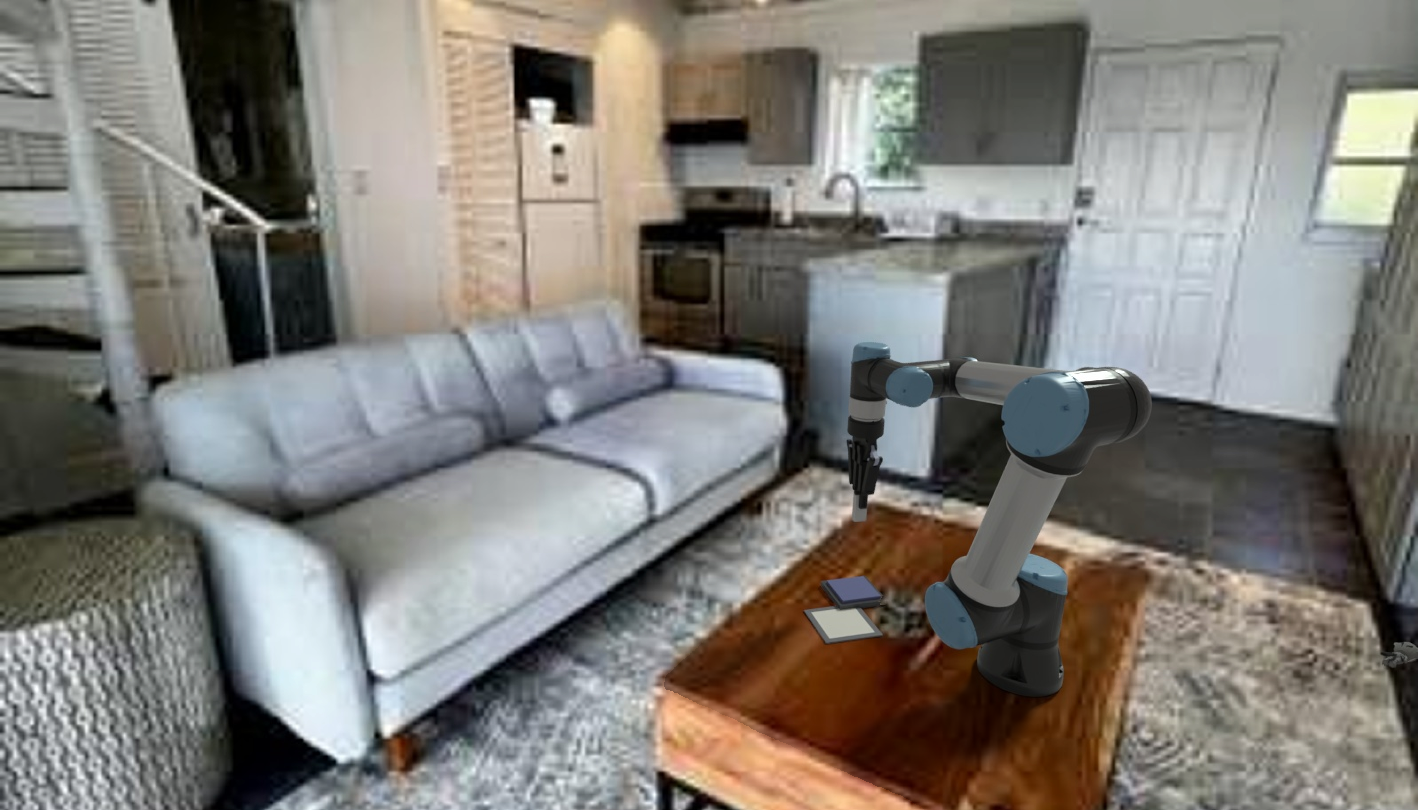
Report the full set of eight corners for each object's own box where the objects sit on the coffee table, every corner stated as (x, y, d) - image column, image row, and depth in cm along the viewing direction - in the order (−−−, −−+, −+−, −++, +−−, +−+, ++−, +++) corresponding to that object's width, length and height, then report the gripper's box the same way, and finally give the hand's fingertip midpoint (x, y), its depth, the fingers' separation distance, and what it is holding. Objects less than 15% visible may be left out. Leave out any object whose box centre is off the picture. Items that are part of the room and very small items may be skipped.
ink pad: (886, 604, 166) (887, 597, 165) (840, 611, 163) (840, 603, 163) (864, 580, 176) (865, 573, 176) (820, 585, 174) (821, 578, 173)
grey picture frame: (882, 635, 155) (882, 634, 154) (826, 644, 152) (826, 642, 151) (856, 604, 166) (856, 603, 166) (803, 611, 163) (803, 610, 163)
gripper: (897, 424, 153) (888, 531, 160) (869, 406, 165) (862, 506, 172) (863, 427, 151) (855, 534, 158) (837, 408, 163) (831, 509, 170)
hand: (858, 519), depth 165 cm, fingers closed
